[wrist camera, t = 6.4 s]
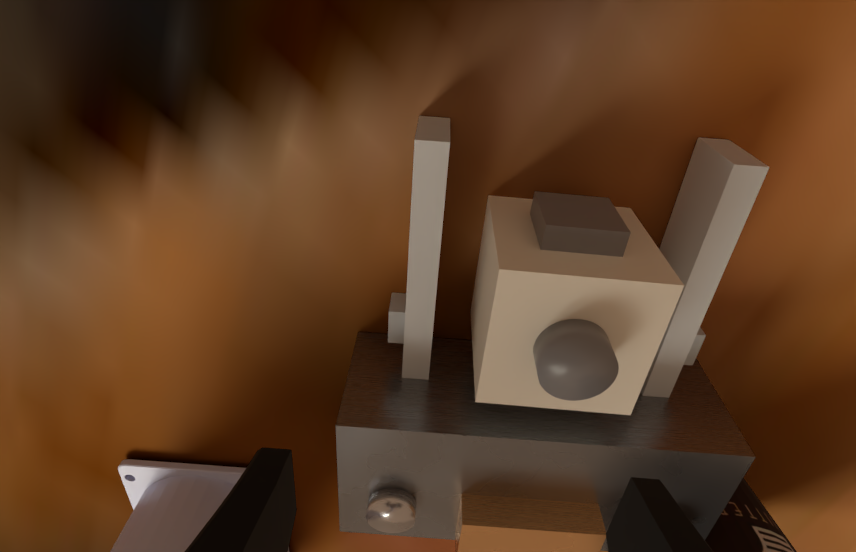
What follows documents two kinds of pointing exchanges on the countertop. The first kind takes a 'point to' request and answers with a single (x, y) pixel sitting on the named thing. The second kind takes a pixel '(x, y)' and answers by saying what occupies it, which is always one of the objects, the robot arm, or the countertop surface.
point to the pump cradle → (681, 246)
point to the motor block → (518, 456)
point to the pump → (567, 304)
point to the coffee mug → (746, 526)
